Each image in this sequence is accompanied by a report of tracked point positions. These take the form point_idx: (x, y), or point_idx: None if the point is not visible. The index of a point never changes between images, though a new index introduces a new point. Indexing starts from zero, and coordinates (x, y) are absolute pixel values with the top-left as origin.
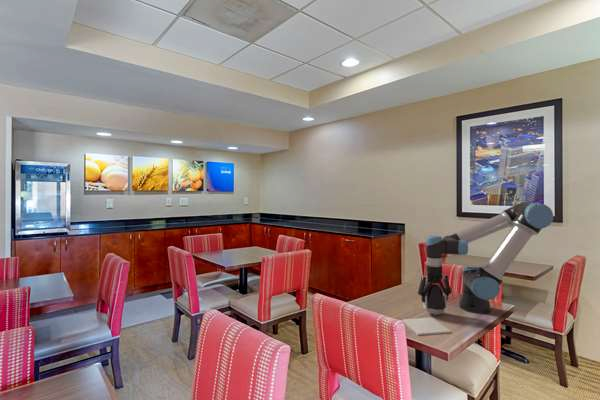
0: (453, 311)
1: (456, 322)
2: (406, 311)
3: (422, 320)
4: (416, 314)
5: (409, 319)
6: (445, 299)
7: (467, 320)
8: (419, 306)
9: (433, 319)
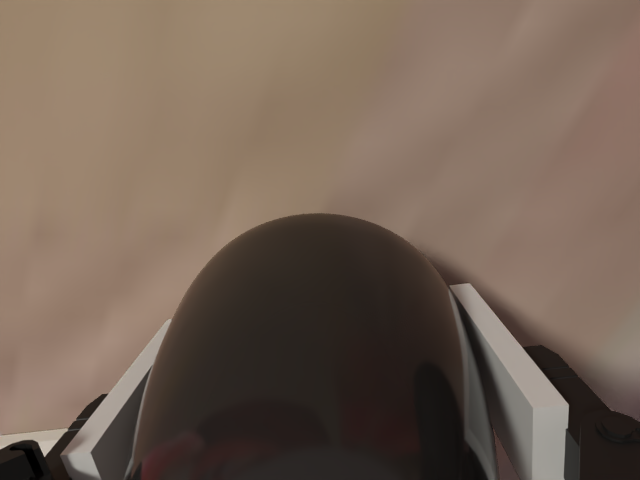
0: (579, 224)
1: None
2: (19, 212)
3: None
4: (118, 299)
5: None
6: (502, 432)
7: None
8: (221, 30)
9: None
